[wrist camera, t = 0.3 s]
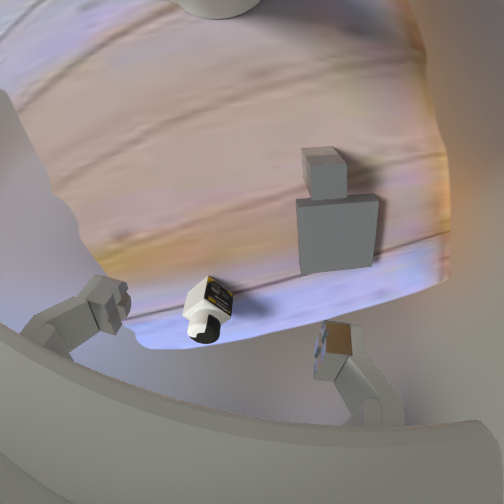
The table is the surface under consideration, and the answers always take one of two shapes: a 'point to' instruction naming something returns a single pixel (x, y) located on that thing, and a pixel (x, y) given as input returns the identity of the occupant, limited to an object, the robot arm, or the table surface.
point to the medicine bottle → (207, 310)
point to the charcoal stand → (336, 233)
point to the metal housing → (324, 173)
